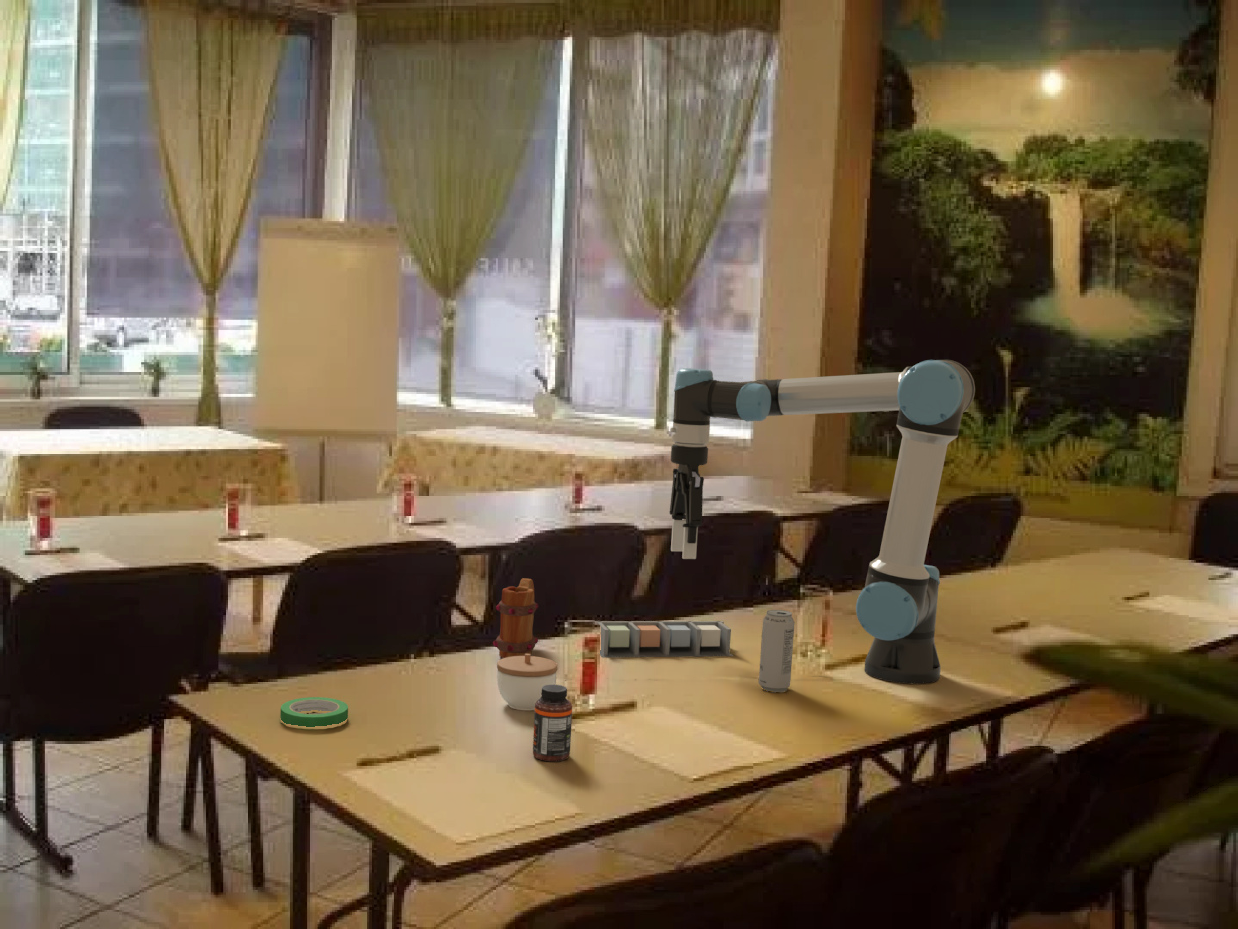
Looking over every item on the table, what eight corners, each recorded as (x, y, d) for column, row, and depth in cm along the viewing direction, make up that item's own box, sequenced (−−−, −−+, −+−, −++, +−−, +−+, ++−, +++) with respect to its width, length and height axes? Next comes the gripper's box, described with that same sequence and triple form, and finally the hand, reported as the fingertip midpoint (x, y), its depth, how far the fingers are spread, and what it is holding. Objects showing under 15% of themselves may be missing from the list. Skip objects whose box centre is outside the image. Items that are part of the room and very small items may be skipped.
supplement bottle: (531, 750, 229) (535, 681, 228) (568, 751, 230) (572, 682, 229) (532, 762, 223) (536, 692, 222) (570, 763, 224) (574, 693, 223)
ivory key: (719, 646, 296) (720, 629, 296) (701, 646, 295) (702, 629, 295) (713, 641, 300) (714, 625, 299) (695, 641, 299) (696, 625, 298)
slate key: (689, 646, 294) (690, 630, 294) (671, 646, 293) (672, 630, 293) (684, 641, 298) (685, 625, 298) (665, 641, 297) (666, 625, 297)
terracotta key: (659, 646, 293) (660, 630, 292) (640, 646, 292) (641, 630, 291) (654, 642, 297) (655, 625, 296) (635, 642, 296) (636, 625, 295)
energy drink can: (764, 683, 278) (769, 607, 276) (794, 688, 275) (799, 612, 274) (753, 690, 273) (758, 613, 271) (783, 695, 270) (789, 617, 268)
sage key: (628, 647, 291) (629, 630, 291) (609, 647, 290) (610, 630, 290) (624, 642, 295) (624, 625, 295) (605, 642, 294) (606, 625, 294)
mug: (528, 666, 281) (531, 591, 279) (488, 661, 282) (491, 587, 281) (546, 649, 295) (550, 577, 293) (508, 645, 297) (512, 574, 295)
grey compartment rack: (733, 660, 294) (735, 630, 293) (601, 662, 287) (603, 631, 286) (718, 648, 304) (720, 619, 303) (590, 649, 297) (592, 620, 296)
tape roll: (317, 736, 231) (317, 720, 231) (266, 723, 237) (266, 707, 236) (361, 720, 241) (361, 705, 241) (311, 708, 246) (311, 693, 246)
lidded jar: (509, 717, 247) (511, 664, 246) (485, 700, 256) (488, 649, 255) (565, 711, 252) (568, 659, 251) (540, 695, 261) (542, 645, 260)
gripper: (658, 438, 300) (652, 545, 303) (686, 449, 280) (679, 564, 283) (692, 439, 302) (686, 545, 304) (723, 450, 282) (715, 564, 285)
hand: (683, 554), depth 294 cm, fingers open, 8 cm apart
